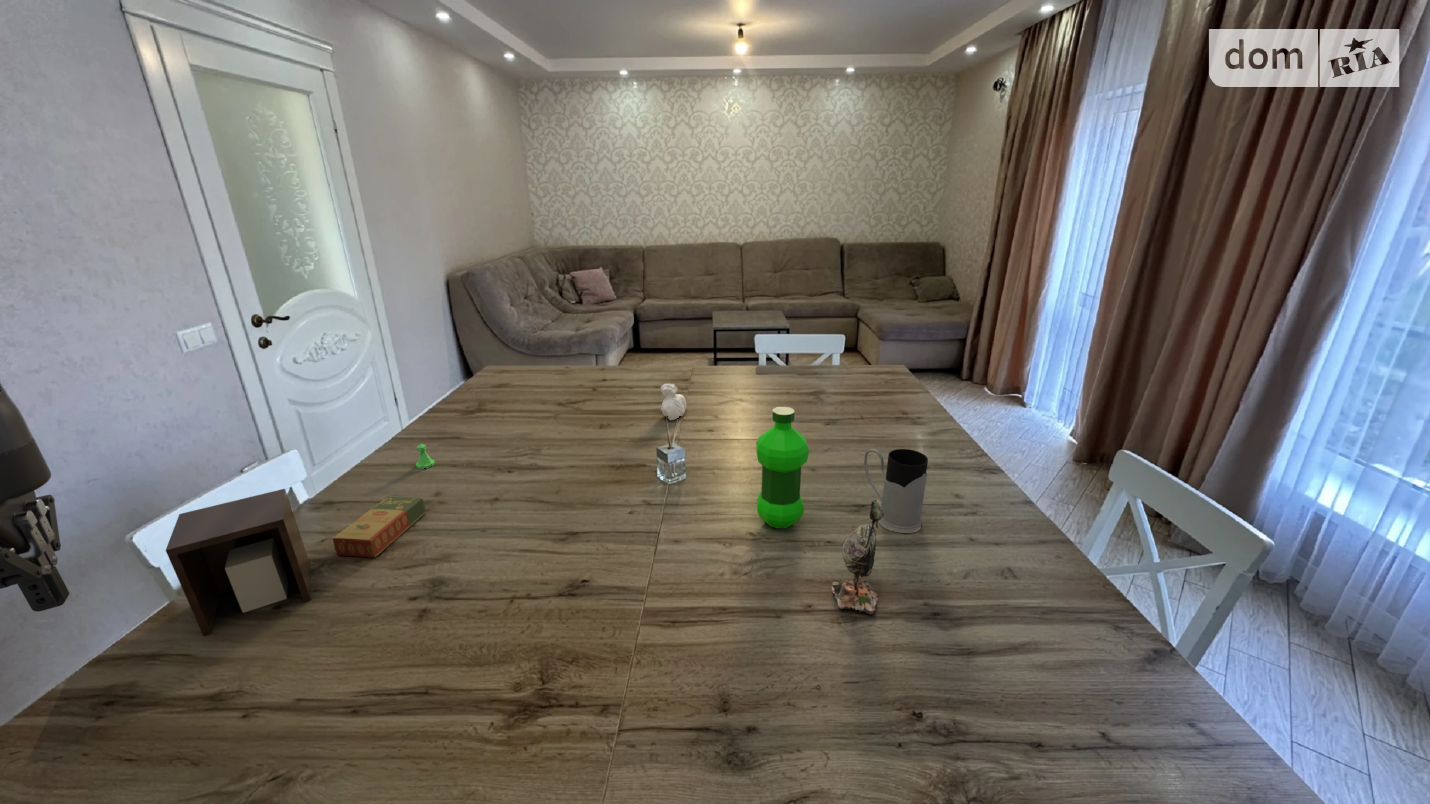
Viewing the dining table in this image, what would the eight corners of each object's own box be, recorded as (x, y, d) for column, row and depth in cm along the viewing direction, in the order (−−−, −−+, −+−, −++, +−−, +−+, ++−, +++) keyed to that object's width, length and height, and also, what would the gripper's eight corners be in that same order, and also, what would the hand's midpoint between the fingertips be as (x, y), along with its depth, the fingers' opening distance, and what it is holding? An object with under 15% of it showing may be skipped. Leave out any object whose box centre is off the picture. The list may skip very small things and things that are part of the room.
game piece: (427, 469, 138) (423, 448, 136) (412, 468, 138) (407, 447, 136) (438, 462, 142) (434, 440, 140) (423, 460, 142) (418, 439, 140)
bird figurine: (883, 578, 98) (895, 479, 91) (874, 621, 88) (887, 514, 81) (837, 567, 101) (845, 470, 94) (823, 608, 91) (832, 503, 84)
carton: (336, 556, 105) (330, 537, 104) (391, 511, 120) (387, 493, 119) (376, 558, 104) (370, 539, 103) (427, 513, 119) (423, 495, 118)
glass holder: (906, 539, 109) (915, 471, 103) (848, 509, 119) (853, 447, 114) (930, 523, 114) (940, 458, 108) (872, 496, 124) (879, 435, 119)
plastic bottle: (799, 539, 109) (806, 423, 100) (748, 530, 112) (750, 417, 103) (808, 513, 118) (815, 404, 109) (760, 505, 121) (763, 399, 112)
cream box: (242, 613, 91) (224, 568, 88) (246, 592, 96) (229, 549, 93) (287, 598, 94) (271, 555, 91) (288, 579, 99) (273, 537, 96)
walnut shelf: (203, 636, 86) (165, 550, 81) (212, 593, 96) (179, 513, 90) (310, 600, 94) (283, 519, 88) (310, 564, 103) (285, 488, 97)
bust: (681, 415, 175) (661, 386, 175) (698, 404, 171) (677, 374, 171) (663, 429, 165) (642, 398, 165) (680, 418, 161) (658, 386, 161)
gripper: (-63, 432, 52) (22, 583, 58) (-152, 490, 41) (-37, 665, 48) (54, 414, 56) (122, 557, 62) (-1, 463, 45) (86, 628, 52)
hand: (52, 604), depth 55 cm, fingers closed
